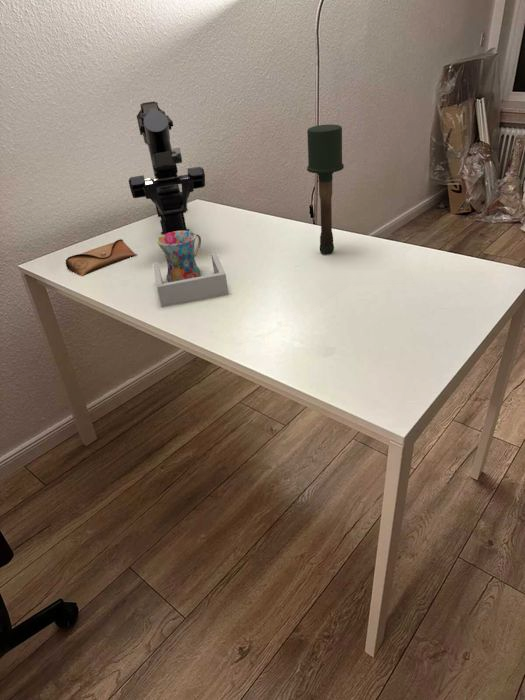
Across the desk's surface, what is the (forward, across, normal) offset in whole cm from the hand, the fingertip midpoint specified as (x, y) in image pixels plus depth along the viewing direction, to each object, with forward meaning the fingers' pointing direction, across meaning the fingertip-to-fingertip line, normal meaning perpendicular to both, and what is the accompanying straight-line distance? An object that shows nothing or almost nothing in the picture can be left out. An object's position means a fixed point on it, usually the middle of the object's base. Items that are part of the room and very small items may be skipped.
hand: (174, 212), depth 122 cm
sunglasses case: (+2, -21, +18) cm, 28 cm away
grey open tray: (+21, 0, -2) cm, 21 cm away
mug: (+16, 0, +4) cm, 16 cm away
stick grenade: (+17, +36, +3) cm, 40 cm away
